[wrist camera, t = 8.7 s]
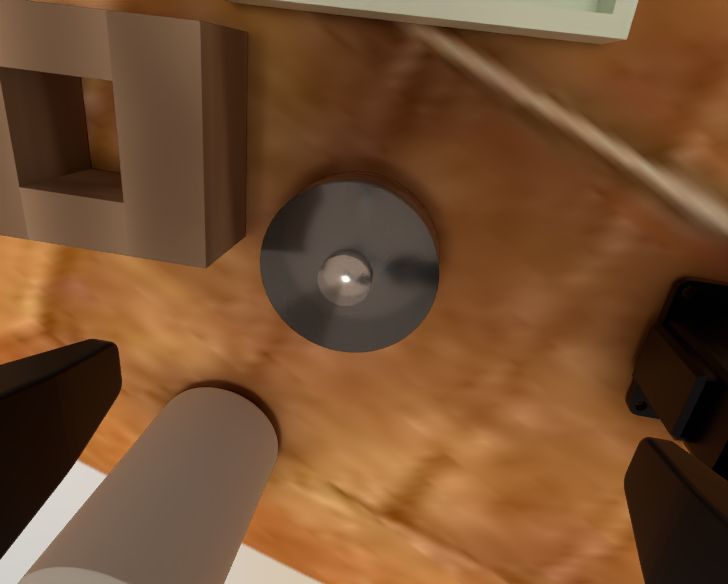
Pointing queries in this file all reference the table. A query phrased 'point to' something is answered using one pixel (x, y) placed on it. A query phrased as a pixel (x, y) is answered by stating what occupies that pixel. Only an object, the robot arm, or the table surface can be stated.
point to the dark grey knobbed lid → (352, 262)
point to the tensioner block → (123, 132)
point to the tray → (489, 15)
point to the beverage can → (170, 499)
